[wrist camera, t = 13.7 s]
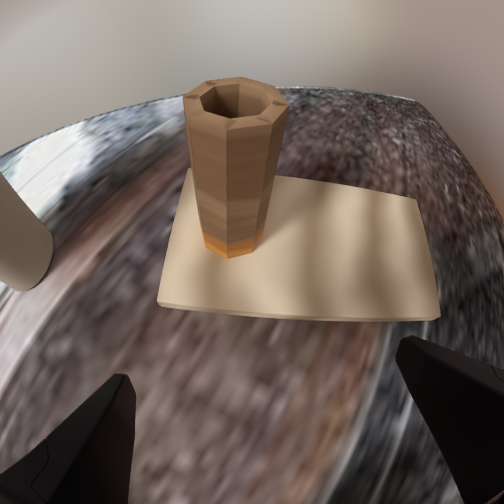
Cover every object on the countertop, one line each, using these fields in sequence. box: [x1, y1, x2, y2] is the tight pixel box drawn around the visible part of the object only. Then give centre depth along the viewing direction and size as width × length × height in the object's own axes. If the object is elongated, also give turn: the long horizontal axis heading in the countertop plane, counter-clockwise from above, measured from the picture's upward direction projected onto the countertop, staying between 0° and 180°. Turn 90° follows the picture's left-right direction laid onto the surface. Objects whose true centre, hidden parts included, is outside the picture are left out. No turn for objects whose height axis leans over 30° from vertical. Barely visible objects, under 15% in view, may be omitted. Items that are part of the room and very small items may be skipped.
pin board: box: [157, 168, 441, 322], centre depth 23 cm, size 26×14×5 cm, turn 86°
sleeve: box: [183, 77, 289, 259], centre depth 18 cm, size 5×5×13 cm
